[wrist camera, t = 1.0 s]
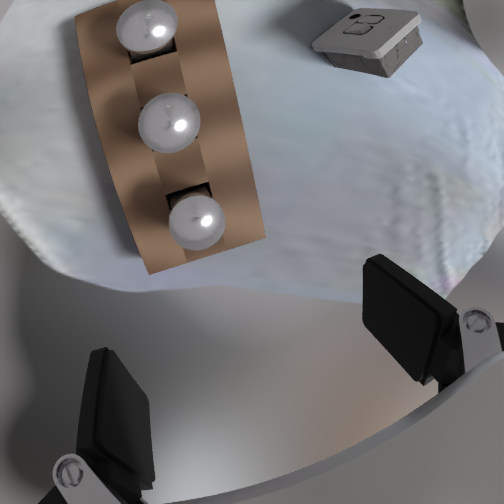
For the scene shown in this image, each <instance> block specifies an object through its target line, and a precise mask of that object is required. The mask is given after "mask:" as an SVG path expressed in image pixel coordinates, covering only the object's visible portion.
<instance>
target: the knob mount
mask: <svg viewBox="0 0 504 504" xmlns="http://www.w3.org/2000/svg"><path fill="white" fill-rule="evenodd" d="M140 1H143V0H117V1H114V2H111V3H108V4H105V5H102V6H100V7H97V8H95V9H92V10H89V11H87V12H85V13H82V14H80V15H77V16H75V23H76V30H77V37H78V43H79V49H80V55H81V60H82V66H83V71H84V76H85V80H86V85H87V90H88V94H89V98H90V103H91V107H92V111H93V115H94V119H95V122H96V126H97V130H98V133H99V137H100V141H101V144H102V147H103V151H104V154H105V157H106V161H107V164H108V167H109V170H110V173H111V176H112V179H113V182H114V185H115V188H116V191H117V194H118V197H119V200H120V203H121V205H122V208H123V211H124V214H125V216H126V219H127V222H128V224H129V227H130V230H131V232H132V235H133V237H134V240H135V242H136V245H137V247H138V250H139V252H140V255H141V257H142V259H143V262H144V264H145V266H146V269H147V271H148V273H149V275H151V274H154V273H157V272H160V271H163V270H166V269H169V268H172V267H175V266H179V265H182V264H185V263H188V262H191V261H194V260H197V259H200V258H204V257H207V256H210V255H213V254H216V253H219V252H222V251H226V250H229V249H232V248H235V247H238V246H241V245H245V244H248V243H251V242H254V241H257V240H261V239H264V238H266V236H265V231H264V226H263V221H262V216H261V211H260V206H259V201H258V196H257V191H256V186H255V181H254V176H253V172H252V167H251V162H250V157H249V152H248V148H247V143H246V138H245V133H244V129H243V124H242V119H241V115H240V110H239V106H238V101H237V97H236V92H235V87H234V83H233V78H232V74H231V69H230V65H229V61H228V56H227V52H226V47H225V43H224V39H223V34H222V30H221V26H220V22H219V17H218V13H217V9H216V5H215V1H214V0H161V1H164V2H166V3H168V4H169V5H171V6H172V7H173V8H174V10H175V11H176V14H177V18H178V24H177V30H176V33H175V36H174V37H173V40H172V44H173V48H174V53H170V54H166V55H162V56H159V57H155V58H152V59H148V60H145V61H142V62H138V63H135V64H133V61H132V56H131V53H130V51H128V50H127V49H125V48H124V47H123V45H122V44H121V42H120V41H119V39H118V37H117V34H116V26H117V22H118V20H119V18H120V16H121V15H122V13H123V12H124V11H125V10H126V9H127V8H129V7H130V6H131V5H133V4H135V3H137V2H140ZM164 93H178V94H182V95H184V96H186V97H188V98H189V99H190V100H192V101H193V103H194V104H195V105H196V107H197V108H198V111H199V114H200V128H199V132H198V134H197V136H196V138H195V139H194V141H193V142H192V143H191V144H190V145H189V146H187V147H186V148H184V149H182V150H180V151H178V152H174V153H161V152H157V151H155V150H153V149H151V148H150V147H148V146H147V145H146V144H145V143H144V141H143V140H142V138H141V136H140V133H139V129H138V121H139V116H140V113H141V111H142V109H143V108H144V106H145V105H146V104H147V103H148V102H149V101H150V100H151V99H153V98H154V97H156V96H158V95H161V94H164ZM205 182H206V184H207V188H208V192H209V194H210V196H211V197H213V198H214V199H215V200H216V201H217V202H218V204H219V205H220V207H221V208H222V210H223V212H224V215H225V220H226V224H225V230H224V232H223V234H222V236H221V238H220V239H219V240H218V241H217V242H216V243H215V244H214V245H212V246H211V247H209V248H206V249H203V250H189V249H186V248H183V247H181V246H180V245H178V244H177V243H176V242H175V241H174V239H173V238H172V236H171V234H170V230H169V213H170V210H171V203H170V200H169V197H168V194H169V193H172V192H176V191H179V190H182V189H185V188H188V187H192V186H195V185H198V184H202V183H205Z"/></svg>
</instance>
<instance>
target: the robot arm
mask: <svg viewBox="0 0 504 504" xmlns="http://www.w3.org/2000/svg"><path fill="white" fill-rule="evenodd" d="M456 311H457V309H456V308H455V307H454V306H453V305H451V304H450V303H449V302H447V301H446V300H445V299H443V298H442V297H441V296H439V295H438V294H437V293H435V292H434V291H433V290H431V289H430V288H429V287H427V286H426V285H425V284H423V283H422V282H421V281H419V280H418V279H416V278H415V277H414V276H412V275H411V274H409V273H408V272H407V271H405V270H404V269H402V268H401V267H400V266H398V265H397V264H395V263H394V262H392V261H391V260H390V259H388V258H387V257H385V256H384V255H382V254H378V255H375V256H373V257H370V258H368V259H367V260H366V262H365V264H364V265H363V312H362V320H363V323H364V325H365V327H366V328H367V329H368V330H369V331H370V332H371V333H372V334H373V336H374V337H375V338H376V339H377V340H378V341H379V342H380V343H381V344H382V345H383V346H384V347H385V349H386V350H387V351H388V352H389V353H390V354H391V355H392V356H393V357H394V359H395V360H396V361H397V362H398V363H399V364H400V365H401V366H402V367H403V368H404V369H405V371H406V372H407V373H408V374H409V375H410V376H411V377H412V379H413V380H414V381H417V382H418V381H419V382H420V383H421V384H422V385H423V386H424V385H426V384H427V383H429V382H430V381H432V380H433V379H434V378H435V379H436V381H438V394H437V395H436V396H434V397H433V398H431V399H430V400H428V401H427V402H426V403H424V404H423V405H421V406H420V407H418V408H417V409H415V410H414V411H413V412H411V413H409V414H408V415H407V416H405V417H403V418H401V419H400V420H398V421H397V422H395V423H393V424H392V425H390V426H388V427H387V428H385V429H383V430H381V431H380V432H378V433H376V434H374V435H373V436H371V437H369V438H367V439H365V440H363V441H361V442H359V443H357V444H356V445H354V446H352V447H350V448H348V449H345V450H343V451H341V452H339V453H337V454H335V455H333V456H331V457H328V458H326V459H324V460H322V461H319V462H317V463H314V464H312V465H310V466H307V467H305V468H302V469H299V470H297V471H294V472H292V473H289V474H286V475H283V476H280V477H277V478H274V479H272V480H268V481H265V482H262V483H259V484H255V485H252V486H249V487H245V488H241V489H237V490H234V491H230V492H226V493H221V494H217V495H212V496H207V497H203V498H197V499H191V500H186V501H179V502H173V503H166V504H504V323H498V322H495V320H494V318H493V316H492V315H491V314H490V313H489V312H488V311H486V310H485V309H482V308H480V307H469V308H466V309H464V310H463V311H462V312H461V314H460V315H458V314H457V313H456ZM152 453H153V452H152V441H151V428H150V412H149V401H148V398H147V396H146V394H145V393H144V392H143V390H142V389H141V388H140V387H139V385H138V384H137V383H136V381H135V380H134V379H133V378H132V376H131V375H130V373H129V372H128V371H127V369H126V368H125V367H124V365H123V363H122V362H121V361H120V359H119V358H118V356H117V355H116V353H115V352H114V351H113V350H109V349H108V348H106V347H104V348H101V349H97V350H93V351H92V352H91V354H90V359H89V363H88V368H87V374H86V379H85V384H84V390H83V396H82V404H81V410H80V417H79V425H78V435H77V444H76V454H67V455H64V456H62V457H61V458H60V459H59V460H58V461H57V462H56V464H55V466H54V469H53V480H54V482H55V484H56V485H55V486H54V487H53V489H52V490H51V491H50V492H49V493H48V494H47V495H46V496H45V497H44V498H43V499H42V500H41V501H40V502H39V503H38V504H148V503H147V502H146V501H145V500H143V498H141V497H142V494H141V490H150V489H153V487H152V482H154V481H155V471H154V462H153V454H152Z"/></svg>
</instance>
